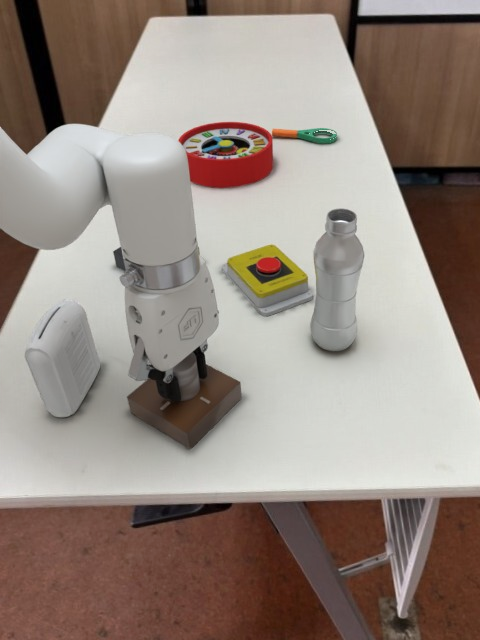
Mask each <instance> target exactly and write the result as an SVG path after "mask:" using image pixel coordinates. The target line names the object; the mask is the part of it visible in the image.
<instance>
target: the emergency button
mask: <svg viewBox="0 0 480 640" xmlns="http://www.w3.org/2000/svg"><path fill="white" fill-rule="evenodd" d="M221 271H222V273H223V274H224V276H226V277H227V279H228V280H229V281H230V282H231V283H232V285H234V286H235V288H237V290H238V291H239V292H240V293H241V294H242V295H243V297H245V298H246V300H247V301H248V302H249V303H250V304H251V305H252V306H253V308H254V309H255V310H256V311H257V312H258V313H259V315H260V316H262V317H270V316H273V315H276V314H279V313H282V312H284V311H287V310H289V309H292V308H294V307H297V306H299V305H302V304H304V303H305V304H306V303H308V302H310V301H312V300H313V299H314V292H313V290H311V288H309V276H308V274H307V273H306V272H305V271H304V270H303V269H301V268H300V267H299V266H298V265H297V264H296V263H295V262H294V261H293V260H292V259H291V258H290V257H289V256H287V254H285V253H284V252H283V250H281V249H280V248H279V247H278V246H277V245H276V244H267V245H264V246H260V247H258V248H254V249H252V250H249V251H245V252H242V253H239V254H236V255H234V256H229V258H227V261H226V263H224V264H222V265H221Z"/></svg>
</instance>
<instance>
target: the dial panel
mask: <svg viewBox="0 0 480 640" xmlns="http://www.w3.org/2000/svg"><path fill="white" fill-rule="evenodd" d="M206 368H207V377H206V378H205V379H201V378H199V382H200V391H199V393H198V394H197V395H196V396H195V397H194V398H192V399H190V400H186V401H180V402H179V403H175V402H173V401H172V400H170V399H165V398H163V397H162V396H160V394H159V393H158V389H157V385H156V380H151V379H147V380H144V382H142V383H141V384H140V385H139V386H138V387H137V388H135V389H134V390H133V391H132V392H131V393H129V394H128V395H127V396H126V399H127V404H128V407H129V410H130V413H131V414H132V415H134V416H136V417H137V418H139V419H140V420H141V421H144V422H145V423H147V424H149V425H150V426H151V427H153V428H154V429H157V430H158V431H159V432H161V433H163V434H165V435H167V436H168V437H170V438H171V439H173V440H174V441H176V442H178V443H179V444H181V445H183V446H184V447H186V448H188V449H189V450H191V449H193V447H194V446H196V445H197V443H198V442H199V441H201V440H202V439H203V437H204V436H205V435H206V434H208V432H209V431H210V430H212V428H214V426H215V425H216V424H218V422H220V420H221V419H223V418H224V416H225V415H226V414H227V413H228V412H230V411H231V409H232V408H234V407H235V405H236V404H237V403H238V402H239V401H240V400H242V398H243V397H242V383H241V381H240V380H237V379H236V378H234V377H232V376H230V375H228V374H226V373H224V372H222V371H220V370H218V369H216V368H215V367H213V366H210V365H209V364H208V363H206Z"/></svg>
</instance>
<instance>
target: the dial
mask: <svg viewBox="0 0 480 640" xmlns="http://www.w3.org/2000/svg"><path fill="white" fill-rule="evenodd" d="M173 376H175V377H177V379H178V383H179V389H180V394H181V401H186V400H190V399H192V398H194V397H195V396H196V395H197V394H198V393H199V391H200V382H199V374H198V367H197V360H196V356H195V354H194V353H193V352H192V353H190V354H189V355H188V356H187V357H186V358H184V359H183V360H182V361H181V362H179V363H178V364H177V365H176V366H174V367H173Z"/></svg>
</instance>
